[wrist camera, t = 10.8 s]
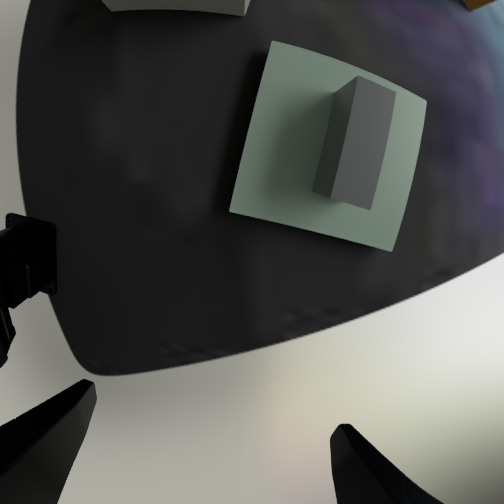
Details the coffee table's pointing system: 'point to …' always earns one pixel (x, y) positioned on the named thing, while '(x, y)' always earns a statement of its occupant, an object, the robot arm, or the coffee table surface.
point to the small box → (476, 3)
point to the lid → (329, 148)
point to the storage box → (182, 5)
